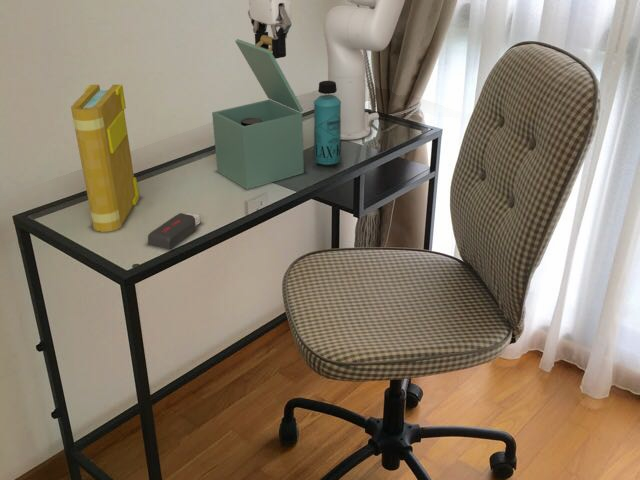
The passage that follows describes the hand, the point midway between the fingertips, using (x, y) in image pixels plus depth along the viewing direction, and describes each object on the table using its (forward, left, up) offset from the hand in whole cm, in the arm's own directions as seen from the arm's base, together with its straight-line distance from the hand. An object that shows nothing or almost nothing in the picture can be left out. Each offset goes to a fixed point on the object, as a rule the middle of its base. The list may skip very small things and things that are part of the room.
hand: (270, 53), depth 173 cm
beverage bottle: (-11, +6, -27) cm, 30 cm away
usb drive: (+35, +17, -27) cm, 48 cm away
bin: (+4, 0, -27) cm, 27 cm away
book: (+41, 0, -27) cm, 49 cm away
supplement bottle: (+6, 0, -26) cm, 27 cm away
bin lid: (+1, 0, -5) cm, 5 cm away
